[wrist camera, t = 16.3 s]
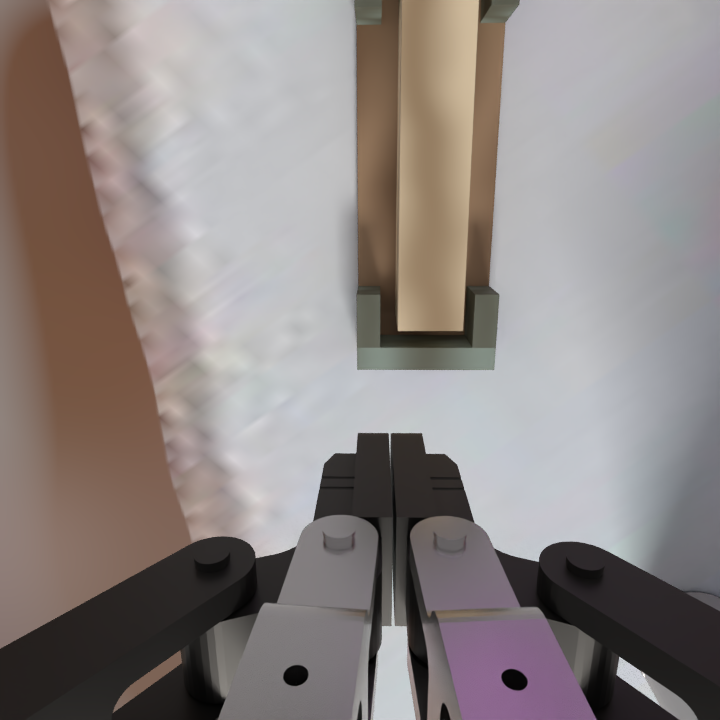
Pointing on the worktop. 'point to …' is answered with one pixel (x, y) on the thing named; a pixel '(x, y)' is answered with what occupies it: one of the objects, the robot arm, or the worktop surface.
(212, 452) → the worktop surface
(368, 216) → the holder
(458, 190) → the slat
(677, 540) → the worktop surface
